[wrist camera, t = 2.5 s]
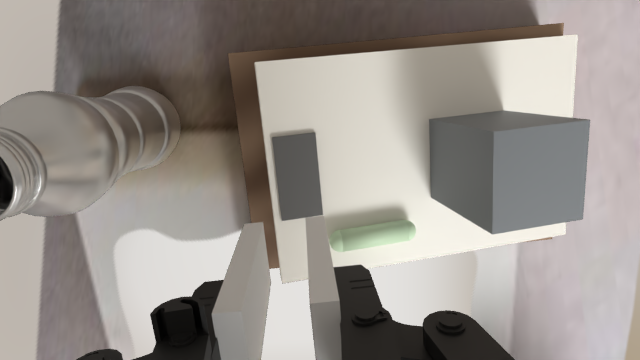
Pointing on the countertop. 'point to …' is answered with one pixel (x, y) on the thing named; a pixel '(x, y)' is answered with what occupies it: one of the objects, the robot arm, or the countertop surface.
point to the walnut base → (245, 67)
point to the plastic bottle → (78, 146)
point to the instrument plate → (423, 149)
